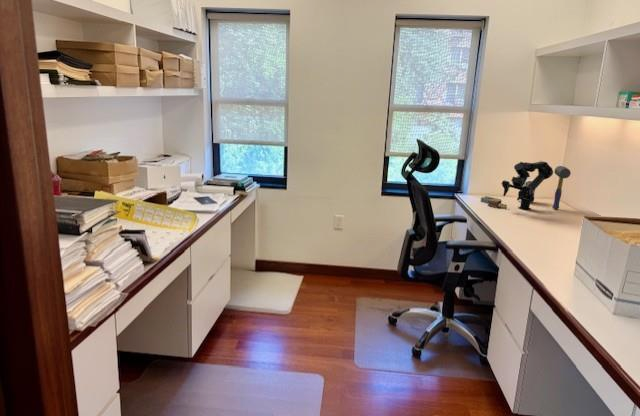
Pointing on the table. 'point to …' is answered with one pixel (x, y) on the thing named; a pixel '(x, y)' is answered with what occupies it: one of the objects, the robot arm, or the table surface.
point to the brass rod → (502, 206)
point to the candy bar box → (527, 185)
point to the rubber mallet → (560, 184)
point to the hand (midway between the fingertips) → (510, 198)
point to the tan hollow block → (494, 202)
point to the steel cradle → (487, 199)
